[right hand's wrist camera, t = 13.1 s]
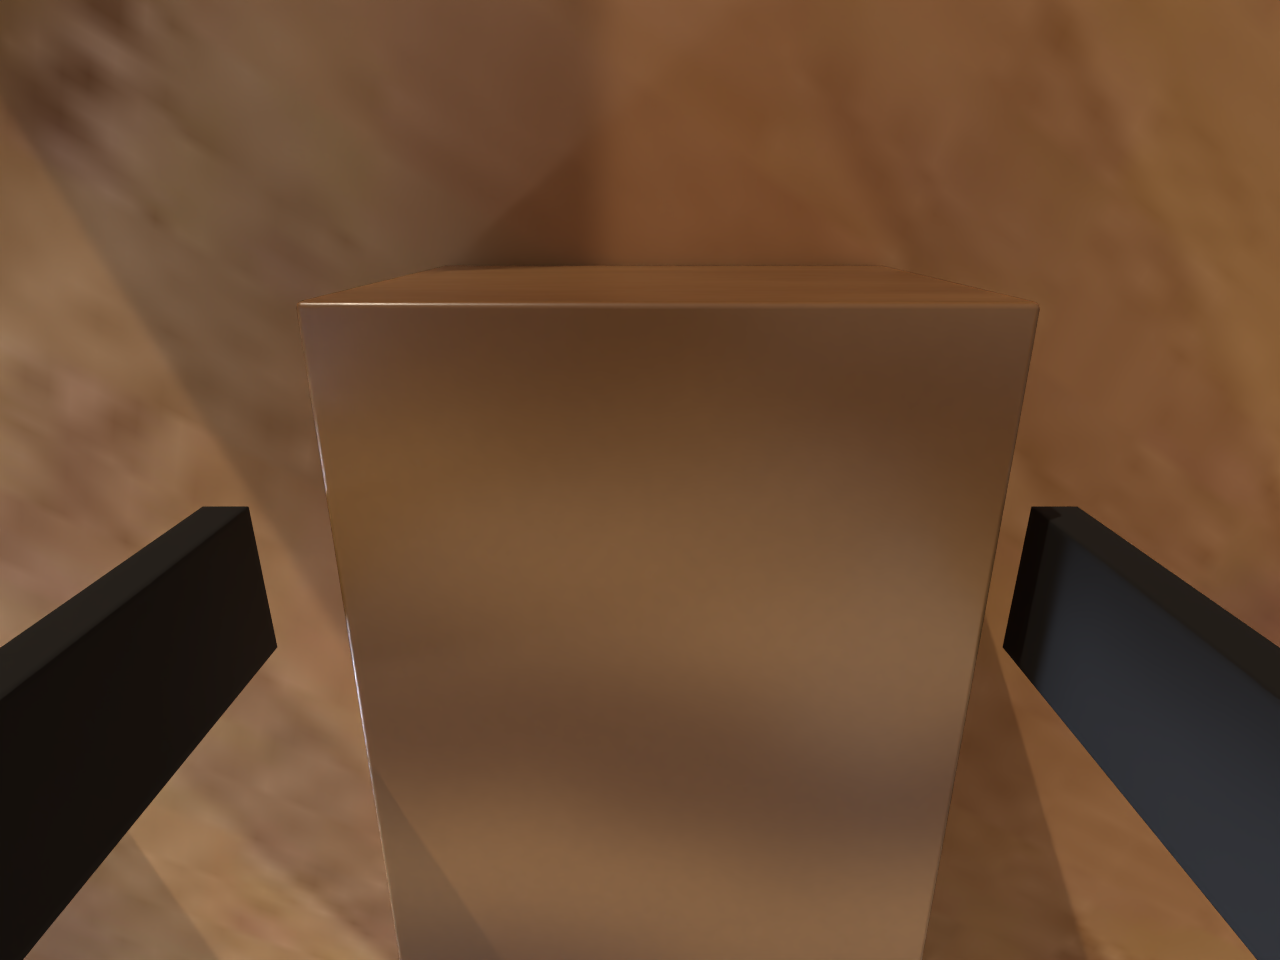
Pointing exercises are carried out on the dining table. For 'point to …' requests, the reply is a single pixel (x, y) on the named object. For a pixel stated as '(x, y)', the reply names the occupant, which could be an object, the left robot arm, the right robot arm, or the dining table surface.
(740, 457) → the wide beam
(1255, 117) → the dining table surface
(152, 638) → the right robot arm
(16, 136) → the dining table surface
